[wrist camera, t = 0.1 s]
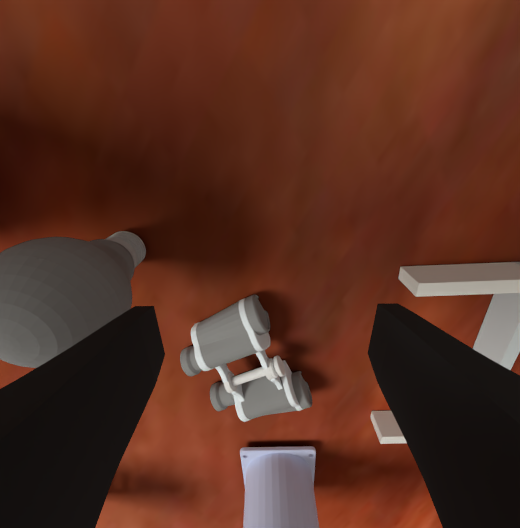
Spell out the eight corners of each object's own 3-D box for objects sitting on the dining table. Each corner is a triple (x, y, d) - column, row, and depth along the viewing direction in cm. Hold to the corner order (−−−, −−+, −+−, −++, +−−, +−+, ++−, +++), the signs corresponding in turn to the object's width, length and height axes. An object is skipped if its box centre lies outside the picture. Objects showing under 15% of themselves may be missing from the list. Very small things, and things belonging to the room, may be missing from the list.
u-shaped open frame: (456, 415, 26) (474, 441, 24) (370, 417, 26) (380, 443, 24) (520, 261, 19) (555, 278, 16) (400, 266, 19) (418, 283, 17)
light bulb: (138, 189, 17) (-5, 244, 8) (187, 264, 19) (120, 374, 10) (68, 226, 18) (-126, 312, 9) (122, 293, 20) (10, 415, 11)
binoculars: (309, 384, 25) (316, 420, 22) (236, 407, 27) (232, 444, 23) (254, 286, 20) (252, 313, 17) (169, 321, 22) (153, 352, 19)
